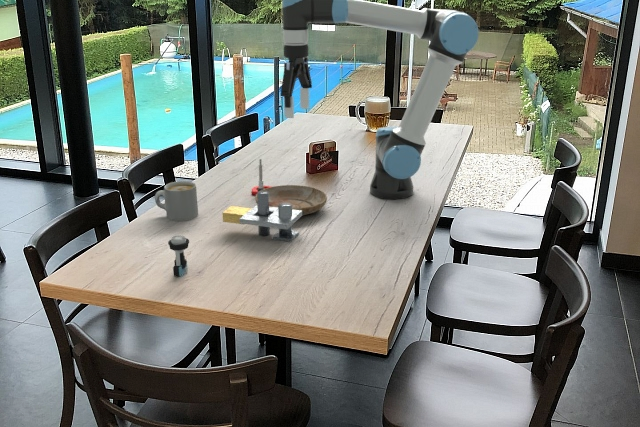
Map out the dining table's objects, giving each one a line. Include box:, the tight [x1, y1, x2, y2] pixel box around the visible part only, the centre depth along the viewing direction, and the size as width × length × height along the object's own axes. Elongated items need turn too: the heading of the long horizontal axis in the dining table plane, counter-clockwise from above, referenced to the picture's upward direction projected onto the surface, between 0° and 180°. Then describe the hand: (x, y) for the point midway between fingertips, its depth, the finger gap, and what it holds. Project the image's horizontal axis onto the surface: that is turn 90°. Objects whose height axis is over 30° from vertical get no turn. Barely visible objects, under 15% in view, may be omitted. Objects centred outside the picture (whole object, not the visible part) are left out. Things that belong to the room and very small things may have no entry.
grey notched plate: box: [222, 203, 303, 243], centre depth 205 cm, size 22×12×10 cm, turn 71°
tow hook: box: [251, 158, 273, 196], centre depth 241 cm, size 8×13×9 cm
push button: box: [167, 234, 190, 277], centre depth 180 cm, size 7×5×10 cm
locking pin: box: [256, 191, 271, 237], centre depth 204 cm, size 3×3×13 cm
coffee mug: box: [154, 180, 199, 222], centre depth 220 cm, size 13×10×10 cm
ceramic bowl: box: [254, 184, 328, 216], centre depth 225 cm, size 23×24×5 cm
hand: (297, 113), depth 216 cm, fingers open, 13 cm apart
